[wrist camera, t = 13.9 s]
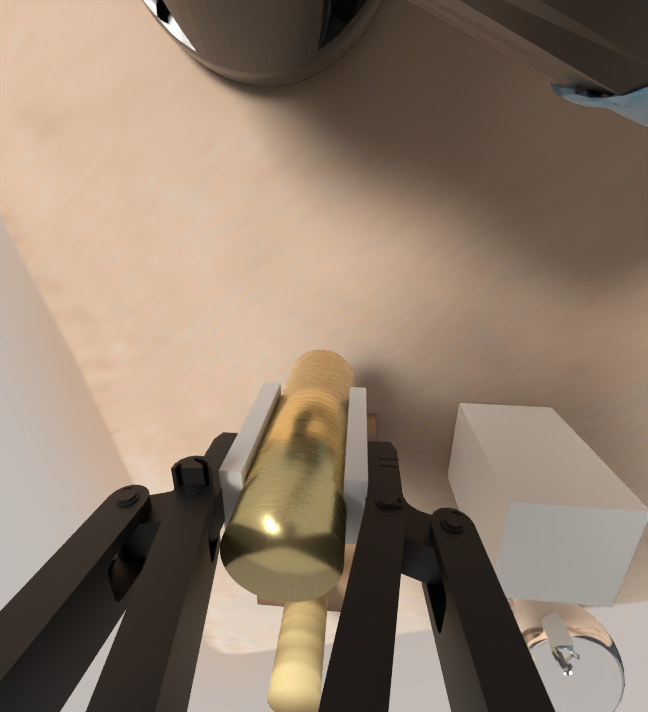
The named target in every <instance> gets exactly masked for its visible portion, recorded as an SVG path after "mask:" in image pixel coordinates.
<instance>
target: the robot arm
mask: <svg viewBox="0 0 648 712" xmlns="http://www.w3.org/2000/svg"><path fill="white" fill-rule="evenodd" d="M142 1H143V2H144V4H145V5H146V7H147V8H148V10H149V11H150V13H151V14H152V15H153V17H154V18H155V19H156V21H157V22H158V23H159V24H160V26H161V27H162V28H163V29H164V30H165V31H166V32H167V33H168V35H169V36H171V37H172V38H173V39H174V40H175V41H176V42H177V43H178V44H179V45H180V46H181V47H182V48H183V49H184V50H186V51H187V52H188V53H189V54H190V55H191V56H192V57H194V58H195V59H196V60H197V61H198V62H200V63H201V64H203V65H204V66H205V67H207V68H209V69H210V70H212V71H213V72H215V73H217V74H219V75H221V76H223V77H226V78H228V79H231V80H234V81H237V82H240V83H244V84H249V85H256V86H278V85H285V84H290V83H294V82H297V81H300V80H303V79H306V78H308V77H311V76H313V75H315V74H317V73H318V72H320V71H322V70H324V69H325V68H327V67H328V66H330V65H331V64H332V63H334V62H335V61H336V60H338V59H339V58H340V57H341V56H342V55H343V54H345V53H346V52H347V51H348V50H349V49H350V48H351V46H352V45H353V44H354V43H355V42H356V41H357V40H358V38H359V37H360V36H361V35H362V33H363V32H364V31H365V29H366V28H367V26H368V25H369V23H370V22H371V20H372V19H373V17H374V15H375V13H376V12H377V10H378V8H379V6H380V4H381V2H382V0H142ZM407 1H409V2H410V3H412V4H414V5H416V6H417V7H419V8H421V9H423V10H425V11H426V12H428V13H430V14H432V15H433V16H435V17H437V18H439V19H440V20H442V21H444V22H446V23H447V24H449V25H451V26H453V27H455V28H456V29H458V30H460V31H462V32H463V33H465V34H467V35H469V36H470V37H472V38H474V39H476V40H477V41H479V42H481V43H483V44H484V45H486V46H488V47H490V48H492V49H493V50H495V51H497V52H499V53H500V54H502V55H504V56H506V57H507V58H509V59H511V60H513V61H514V62H516V63H518V64H520V65H522V66H523V67H525V68H527V69H529V70H530V71H532V72H534V73H536V74H537V75H539V76H541V77H543V78H544V79H546V80H548V81H550V83H551V85H552V87H553V90H554V92H555V93H556V94H558V95H560V96H561V97H563V98H565V99H567V100H568V101H570V102H572V103H575V104H579V105H582V106H586V107H599V108H607V109H609V110H611V111H613V112H615V113H617V114H620V115H622V116H624V117H626V118H628V119H630V120H632V121H634V122H637V123H639V124H641V125H643V126H645V127H647V128H648V0H407ZM280 397H281V386H280V383H269V382H265V383H264V385H263V387H262V389H261V391H260V393H259V395H258V396H257V398H256V400H255V402H254V404H253V406H252V408H251V410H250V412H249V414H248V416H247V418H246V419H245V421H244V423H243V425H242V427H241V429H240V431H239V433H226V432H223V433H222V434H220V435H219V436H218V437H216V438H215V439H214V440H213V442H212V444H211V445H210V447H209V449H208V450H207V452H206V454H205V455H204V456H190V457H186V458H184V459H181V460H180V461H178V462H177V463H175V464H174V465H173V467H172V468H171V471H172V477H173V483H174V490H173V491H170V492H166V493H160V494H154V495H150V494H149V490H148V489H147V488H146V487H144V486H141V485H130V486H126V487H123V488H121V489H119V490H117V491H115V492H114V493H112V494H111V495H110V496H109V497H108V498H107V499H106V500H105V501H104V502H103V503H102V504H101V505H100V506H99V507H98V508H97V510H96V511H95V512H94V513H93V514H92V515H91V516H90V517H89V518H88V519H87V520H86V521H85V522H84V523H83V524H82V525H81V527H79V529H78V530H77V531H76V532H75V533H74V534H73V535H72V536H71V537H70V538H69V539H68V540H67V541H66V542H65V544H63V545H62V547H61V548H60V549H59V550H58V551H57V552H56V553H55V554H54V555H53V556H52V557H51V558H50V559H49V560H48V561H47V562H46V563H45V564H44V566H43V567H42V568H41V569H40V570H39V571H38V572H37V573H36V574H35V575H34V576H33V577H32V578H31V579H30V580H29V582H27V584H26V585H25V586H24V587H23V588H22V589H21V590H20V591H19V592H18V593H17V594H16V595H15V596H14V597H13V598H12V599H11V601H9V603H8V604H7V605H6V606H5V607H4V608H3V609H2V610H1V611H0V712H60V711H61V709H62V708H63V706H64V704H65V703H66V701H67V700H68V698H69V697H70V695H71V694H72V692H73V691H74V689H75V687H76V686H77V684H78V683H79V681H80V680H81V678H82V677H83V675H84V674H85V672H86V671H87V669H88V667H89V666H90V664H91V663H92V661H93V660H94V658H95V656H96V655H97V653H98V652H99V650H100V649H101V647H102V646H103V644H104V643H105V641H106V640H107V638H108V636H109V635H110V633H111V632H112V630H113V629H114V627H115V626H116V624H117V622H118V621H119V619H120V618H121V616H122V615H123V613H124V611H125V610H126V612H125V614H124V617H123V619H122V622H121V625H120V627H119V629H118V632H117V634H116V637H115V640H114V642H113V644H112V647H111V650H110V652H109V655H108V657H107V660H106V662H105V665H104V667H103V670H102V672H101V675H100V677H99V680H98V682H97V685H96V687H95V690H94V692H93V695H92V697H91V700H90V703H89V705H88V707H87V710H86V712H187V708H188V703H189V698H190V693H191V688H192V683H193V679H194V674H195V669H196V663H197V659H198V654H199V648H200V643H201V639H202V634H203V629H204V624H205V619H206V614H207V609H208V604H209V599H210V594H211V589H212V584H213V579H214V574H215V569H216V564H217V559H218V554H219V549H220V544H221V542H220V531H221V528H222V526H223V524H225V529H226V527H227V525H228V522H229V520H230V517H231V515H232V513H233V510H234V508H235V505H236V503H237V501H238V498H239V496H240V493H241V491H242V489H243V486H244V484H245V482H246V479H247V477H248V474H249V472H250V469H251V467H252V465H253V462H254V460H255V457H256V455H257V453H258V450H259V448H260V445H261V443H262V441H263V438H264V436H265V433H266V431H267V429H268V426H269V424H270V421H271V419H272V416H273V414H274V412H275V409H276V407H277V404H278V402H279V400H280ZM343 497H344V500H345V503H346V508H347V518H346V538H345V543H346V544H356V547H355V552H354V556H353V561H352V565H351V569H350V574H349V578H348V582H347V587H346V591H345V596H344V600H343V604H342V609H341V613H340V617H339V622H338V626H337V631H336V635H335V639H334V644H333V648H332V653H331V657H330V661H329V666H328V670H327V674H326V679H325V684H324V688H323V692H322V696H321V701H320V705H319V709H318V712H388V710H389V699H390V688H391V677H392V666H393V655H394V644H395V633H396V622H397V611H398V600H399V589H400V578H401V574H404V575H406V576H409V577H411V578H414V579H416V580H419V581H421V582H422V587H423V591H424V595H425V600H426V604H427V608H428V613H429V617H430V621H431V626H432V630H433V634H434V638H435V643H436V647H437V652H438V656H439V660H440V664H441V669H442V673H443V678H444V682H445V686H446V691H447V695H448V699H449V704H450V708H451V712H556V711H555V709H554V707H553V705H552V702H551V700H550V698H549V695H548V693H547V691H546V688H545V686H544V684H543V681H542V679H541V677H540V675H539V672H538V670H537V668H536V665H535V663H534V661H533V658H532V656H531V654H530V651H529V649H528V647H527V644H526V642H525V640H524V638H523V635H522V633H521V631H520V628H519V626H518V624H517V621H516V619H515V617H514V614H513V612H512V610H511V608H510V605H509V603H508V601H507V598H506V596H505V594H504V591H503V589H502V587H501V584H500V582H499V580H498V578H497V575H496V573H495V571H494V568H493V566H492V564H491V561H490V559H489V557H488V554H487V552H486V550H485V548H484V545H483V543H482V541H481V538H480V536H479V534H478V531H477V529H476V527H475V524H474V523H473V521H472V520H471V519H470V517H468V516H467V515H466V514H464V513H463V512H461V511H459V510H456V509H452V508H440V509H438V510H436V511H434V512H433V514H432V515H430V514H427V513H424V512H421V511H419V510H416V509H415V508H413V507H412V506H410V505H409V504H408V503H407V502H406V500H405V498H404V497H403V494H402V486H401V479H400V472H399V465H398V457H397V450H396V449H395V448H394V446H393V445H392V444H391V443H390V442H377V441H367V411H366V388H361V387H350V395H349V411H348V427H347V443H346V459H345V474H344V495H343Z"/></svg>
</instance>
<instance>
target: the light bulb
mask: <svg viewBox="0 0 648 712" xmlns="http://www.w3.org/2000/svg"><path fill="white" fill-rule="evenodd" d="M512 600H513V605H514V617H515V619H516V621H517V624H518V626H519V628H520V631H521V633H522V635H523V638H524V640H525V642H526V644H527V647H528V649H529V651H530V654H531V656H532V658H533V661H534V663H535V665H536V668H537V670H538V672H539V675H540V677H541V679H542V681H543V684H544V686H545V688H546V691H547V693H548V695H549V698H550V700H551V702H552V705H553V707H554V709H555V711H556V712H614V711H615V710H616V708H617V707H618V705H619V703H620V701H621V699H622V696H623V692H624V687H625V679H624V668H623V664H622V660H621V657H620V654H619V652H618V649H617V648H616V645H615V643H614V642H613V640H612V638H611V637H610V635H609V634H608V632H607V631H606V630H605V628H604V627H603V626H602V625H601V623H600V622H599V621H598V620H597V619H596V618H595V617H594V616H592V615H591V614H590V613H589V612H587V611H586V610H585V609H583V608H582V607H581V606H579V605H577V604H569V603H558V602H546V601H535V600H523V599H512Z"/></svg>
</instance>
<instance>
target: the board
mask: <svg viewBox="0 0 648 712" xmlns="http://www.w3.org/2000/svg"><path fill="white" fill-rule="evenodd" d="M367 441H376V420H375V414H367ZM355 547H356V544H346V543H345V557H344V569H343V573H342V576H341V578H340V580H339V582H338V583H337V584H336V585H335V587H333V588H332V589H331V590H330V591H329V592H327V593H326V594H324V595H322V596H320V597H318V598H315V599H313V600H309V601H304V602H292V603H290V602H279V601H273V600H269V599H266V598H263V597H260V596H258V595H257V603H258V604H261V605H272V606H283V607H284V611H283V617H282V622H281V628H280V633H279V639H278V644H277V649H276V655H275V660H274V667H273V671H272V677H271V682H270V688H269V693H268V704H269V706H270V707H271V708H272V709H273V710H274V711H275V712H318V709H319V705H320V694H321V681H322V669H323V655H324V643H325V630H326V617H327V611H337V612H341V609H342V604H343V600H344V596H345V591H346V587H347V582H348V578H349V574H350V569H351V565H352V561H353V556H354V552H355Z"/></svg>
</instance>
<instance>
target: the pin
mask: <svg viewBox="0 0 648 712" xmlns="http://www.w3.org/2000/svg"><path fill="white" fill-rule="evenodd" d="M353 382H354V379H353V372H352V369H351V367H350V366H349V364H348V363H347V361H346V360H345V359H344V358H342V357H341V356H340V355H338V354H336V353H334V352H331V351H327V350H315V351H311V352H308V353H306V354H304V355H303V356H301V357H300V358H299V359H298V360H297V361H296V363H295V364H294V366H293V368H292V371H291V373H290V376H289V378H288V380H287V383H286V385H285V388H284V390H283V392H282V395H281V397H280V400H279V402H278V404H277V407H276V409H275V412H274V414H273V416H272V419H271V421H270V424H269V426H268V429H267V431H266V433H265V436H264V438H263V441H262V443H261V445H260V448H259V450H258V453H257V455H256V457H255V460H254V462H253V465H252V467H251V469H250V472H249V474H248V477H247V479H246V482H245V484H244V486H243V489H242V491H241V493H240V496H239V498H238V501H237V503H236V505H235V508H234V510H233V513H232V515H231V517H230V520H229V522H228V525H227V527H226V529H225V532H224V534H223V537H222V540H221V544H220V555H221V560H222V562H223V565H224V567H225V569H226V571H227V572H228V573H229V575H230V576H231V577H232V578H233V579H234V580H235V581H236V582H237V583H238V584H239V585H240V586H242V587H243V588H245V589H246V590H248V591H249V592H251V593H253V594H255V595H258V596H260V597H263V598H266V599H269V600H273V601H279V602H290V603H292V602H304V601H309V600H313V599H315V598H318V597H320V596H322V595H324V594H326V593H327V592H329V591H330V590H331V589H332V588H333V587H335V585H336V584H337V583H338V582H339V580H340V578H341V576H342V573H343V569H344V557H345V538H346V518H347V508H346V503H345V500H344V497H343V495H344V474H345V459H346V443H347V427H348V411H349V395H350V387H353Z"/></svg>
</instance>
